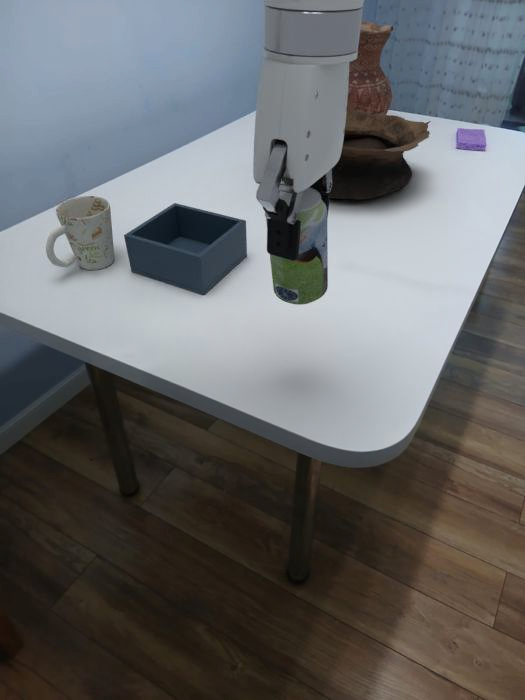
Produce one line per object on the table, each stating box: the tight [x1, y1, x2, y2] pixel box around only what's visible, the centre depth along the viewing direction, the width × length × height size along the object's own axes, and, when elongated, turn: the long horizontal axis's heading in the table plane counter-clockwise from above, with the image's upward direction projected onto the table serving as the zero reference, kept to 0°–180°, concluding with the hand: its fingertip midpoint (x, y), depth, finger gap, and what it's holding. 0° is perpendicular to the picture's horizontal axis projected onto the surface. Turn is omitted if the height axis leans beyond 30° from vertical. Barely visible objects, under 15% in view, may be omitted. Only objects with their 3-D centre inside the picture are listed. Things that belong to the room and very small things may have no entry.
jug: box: [347, 20, 394, 116], centre depth 132 cm, size 22×21×25 cm
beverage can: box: [265, 187, 329, 306], centre depth 51 cm, size 6×7×12 cm
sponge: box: [455, 127, 488, 152], centre depth 130 cm, size 7×13×2 cm, turn 164°
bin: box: [123, 202, 248, 296], centre depth 82 cm, size 15×14×7 cm
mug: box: [45, 195, 115, 271], centre depth 81 cm, size 8×13×10 cm, turn 148°
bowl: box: [282, 108, 432, 200], centre depth 108 cm, size 34×33×15 cm
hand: (297, 239), depth 50 cm, fingers closed on beverage can, 6 cm apart
